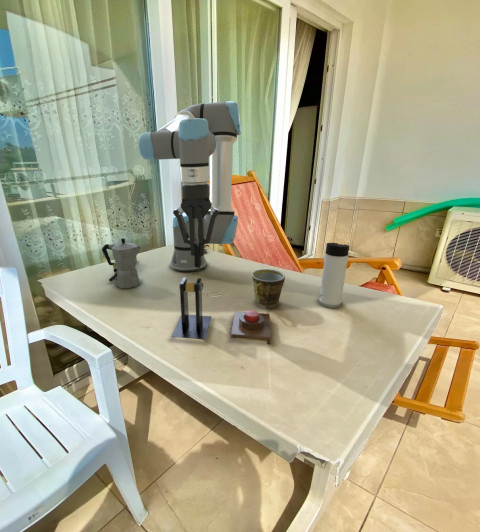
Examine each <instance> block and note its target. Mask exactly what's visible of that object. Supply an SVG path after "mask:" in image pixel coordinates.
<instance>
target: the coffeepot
mask: <svg viewBox="0 0 480 532" xmlns="http://www.w3.org/2000/svg"><path fill="white" fill-rule="evenodd" d="M120 241H121V242H120V243H117V244H114V243H113V244H112V243H111V244H108V243H106V244H104V245H103V247H102V248H101V252H102V253H103V255H104V258H105V259H106V262H107V264H108V265H109V266H113V265H114V263H113V261H112V260H111V256H110V255H109V252H108V251H107V250H109V251H110V250H111V252H112V255H113V258H114V261H115V262H116V265H117V279H116V287H117V288H119V289H132V288H135V287H137V286H139V285H140V284H141V281H140V277H139V273H138V270H137V267H136V263H137V262H136V257H137V256H138V253H139V252H140V251H141V250H142V246H140V245H137V244H136V243H133V242H126V238H120Z"/></svg>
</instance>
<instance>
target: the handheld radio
mask: <svg viewBox="0 0 480 532" xmlns="http://www.w3.org/2000/svg"><path fill="white" fill-rule="evenodd" d="M112 263H114V265H112V268H113V269H112V270H113V275H112V276H110V278H109V279H108V281H109V282H113V281H114V280H115V279H116V280H117V265H116V262H115V260H114V261H112ZM136 263H138V258H137V256H136Z"/></svg>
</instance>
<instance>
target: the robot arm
mask: <svg viewBox="0 0 480 532" xmlns="http://www.w3.org/2000/svg"><path fill="white" fill-rule="evenodd" d="M241 134H242V124H241V114H240V106H239V104H238V102H236V101H226V100H224V101H217V102H205V103H195V104H193V105H190V106H187V107H185V108H184V109H182V110H180V111H178V112H177V113H176V114H175V115H174V116H173V119H172V120H171V121H169V122H167V123H166V124H165V125H163V126H162V127H161V128H159V129H157V130H156V131H152V132H151V131H148V132H142V133H141V134H140V135H139V137H138V144H137V145H138V151H139V154H140V156H141V158H142V159H143V160H146V161H147V160H149V161H151V160H152V161H157V160H158V161H159V160H179V163H180V164H179V166H180V183H182V185H181V186H180V187H181V189H180V190H181V203H180V206H179V207H177V208H175V209H174V210H173V211H172V214H173V215H174V216H173V218H172V235H173V252H172V256H171V260H170V267H171V269H172V270H174V271H177V272H188V273H189V272H197V271H200V270H202V269H204V268H205V267H206V266H207V260H206V257H205V254H206V253H207V249H205V248H206V247H208V248H209V247H210V245H209V244H211V245H231V244H233V243H234V241H235V238H236V235H237V230H238V222H239V217H238V215H237V214H235V210H234V209H233V207H232V179H233V150H234V149H233V148H234V144H235V143H236V142H237V140H238V136H240V135H241Z"/></svg>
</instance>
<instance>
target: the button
mask: <svg viewBox="0 0 480 532" xmlns="http://www.w3.org/2000/svg"><path fill="white" fill-rule="evenodd" d="M244 312H245V320H247V321H250V322H255V321H258V316H259V313H260V312H258V311H257V310H254V309H248V310H246V311H244Z"/></svg>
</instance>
